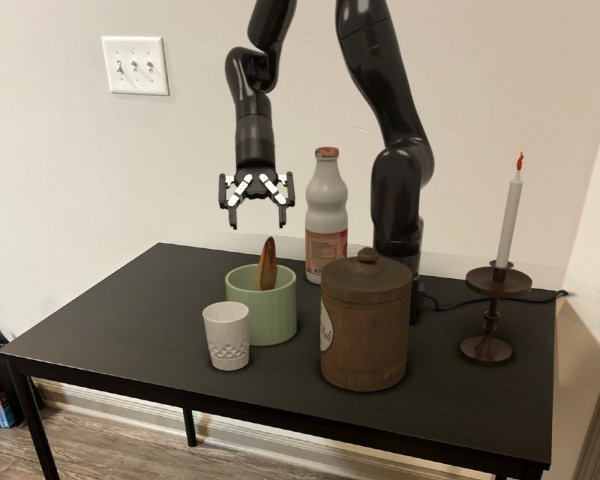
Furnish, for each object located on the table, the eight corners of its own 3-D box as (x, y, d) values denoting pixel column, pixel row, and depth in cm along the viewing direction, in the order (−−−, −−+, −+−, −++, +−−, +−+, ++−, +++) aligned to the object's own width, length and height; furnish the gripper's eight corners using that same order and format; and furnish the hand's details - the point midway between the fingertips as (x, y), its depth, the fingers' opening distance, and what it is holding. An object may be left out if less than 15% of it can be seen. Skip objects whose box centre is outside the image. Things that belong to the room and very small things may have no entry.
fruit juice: (298, 274, 141) (296, 147, 125) (334, 266, 144) (336, 142, 128) (317, 289, 134) (317, 156, 118) (354, 281, 138) (358, 151, 122)
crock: (300, 315, 124) (300, 264, 118) (292, 347, 113) (290, 293, 107) (237, 312, 125) (233, 262, 119) (223, 344, 115) (217, 290, 108)
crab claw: (267, 338, 116) (264, 252, 101) (243, 330, 118) (236, 245, 102) (282, 316, 120) (282, 230, 105) (259, 309, 122) (255, 223, 106)
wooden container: (336, 342, 114) (338, 228, 102) (413, 356, 110) (425, 238, 97) (308, 383, 103) (306, 260, 91) (393, 400, 99) (404, 273, 86)
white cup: (234, 377, 105) (229, 326, 99) (199, 365, 109) (193, 315, 103) (260, 357, 111) (257, 307, 105) (226, 346, 114) (221, 297, 108)
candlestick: (508, 374, 104) (553, 162, 84) (446, 359, 109) (476, 154, 89) (522, 346, 112) (566, 146, 92) (464, 333, 117) (495, 139, 97)
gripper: (215, 136, 111) (217, 219, 108) (292, 134, 111) (296, 216, 109) (219, 160, 118) (221, 237, 115) (292, 157, 119) (296, 235, 116)
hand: (258, 227), depth 112 cm, fingers open, 8 cm apart
